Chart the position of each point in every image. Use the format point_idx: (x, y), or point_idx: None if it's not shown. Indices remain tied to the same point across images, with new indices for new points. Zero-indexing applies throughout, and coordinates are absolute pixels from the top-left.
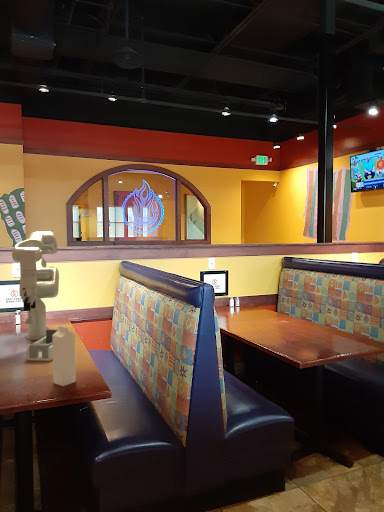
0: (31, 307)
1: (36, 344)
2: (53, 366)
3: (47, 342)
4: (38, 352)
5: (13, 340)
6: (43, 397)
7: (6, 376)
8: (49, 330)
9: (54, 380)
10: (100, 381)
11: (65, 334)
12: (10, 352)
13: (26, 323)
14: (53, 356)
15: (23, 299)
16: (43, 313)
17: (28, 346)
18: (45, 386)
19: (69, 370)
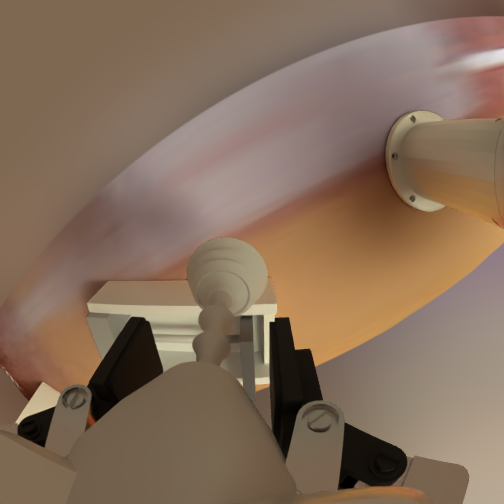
0: (269, 350)
1: (102, 338)
2: (29, 401)
3: None
4: (126, 320)
5: (373, 71)
6: (13, 375)
7: (17, 289)
8: (240, 355)
9: (40, 385)
10: None
11: None
12: (179, 156)
13: (187, 266)
14: (21, 413)
15: (23, 433)
16: (496, 224)
17: (96, 305)
18: (30, 372)
19: None
